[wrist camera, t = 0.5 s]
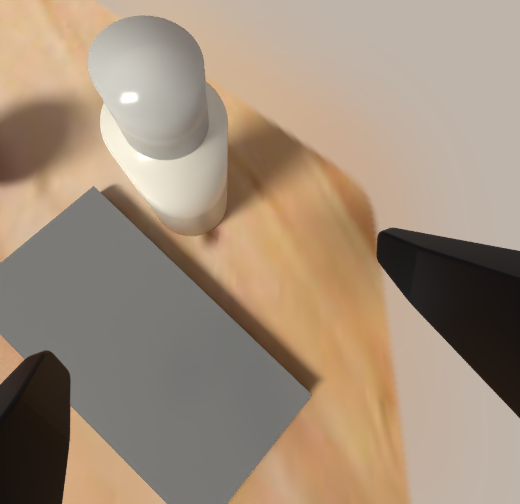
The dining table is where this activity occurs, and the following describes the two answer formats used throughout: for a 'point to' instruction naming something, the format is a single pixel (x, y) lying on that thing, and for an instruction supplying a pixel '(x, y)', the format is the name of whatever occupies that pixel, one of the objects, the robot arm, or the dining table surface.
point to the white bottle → (163, 120)
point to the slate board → (146, 353)
